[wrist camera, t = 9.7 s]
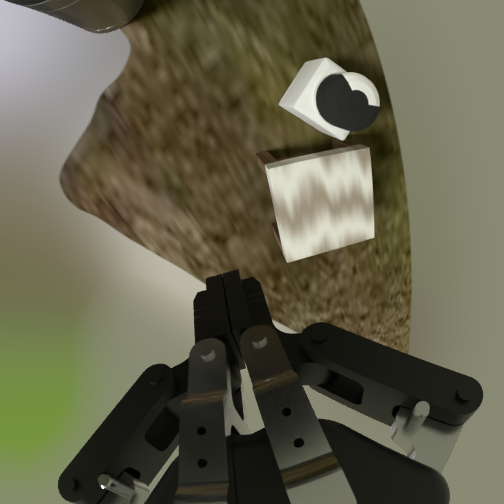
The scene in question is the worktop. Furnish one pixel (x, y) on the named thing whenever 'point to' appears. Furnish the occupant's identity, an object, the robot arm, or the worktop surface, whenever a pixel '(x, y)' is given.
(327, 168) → the footstool
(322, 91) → the medicine bottle
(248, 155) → the worktop surface
